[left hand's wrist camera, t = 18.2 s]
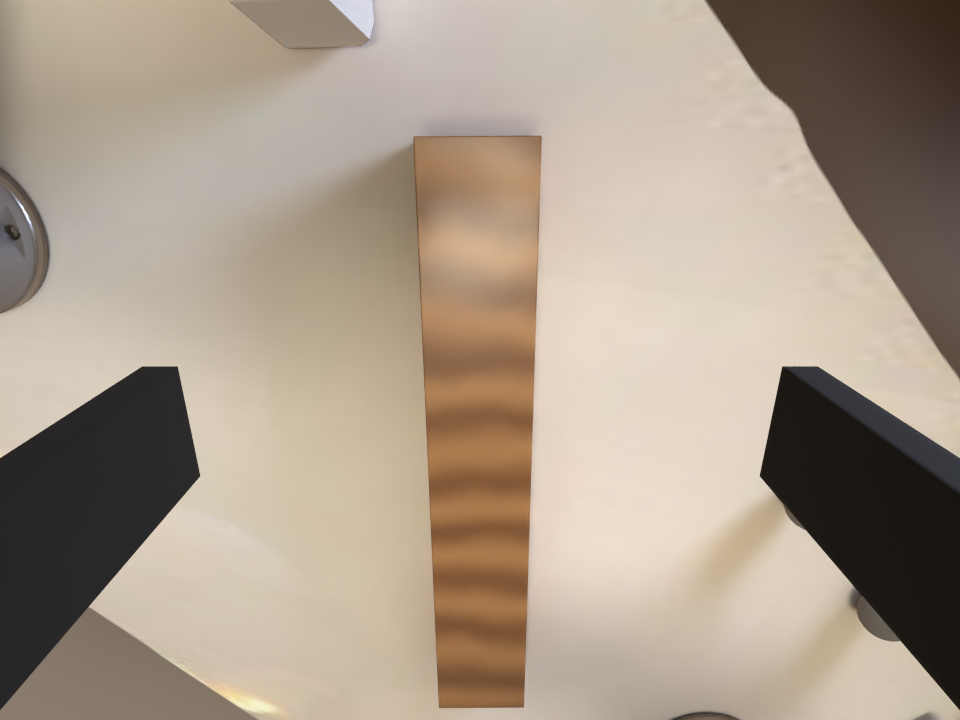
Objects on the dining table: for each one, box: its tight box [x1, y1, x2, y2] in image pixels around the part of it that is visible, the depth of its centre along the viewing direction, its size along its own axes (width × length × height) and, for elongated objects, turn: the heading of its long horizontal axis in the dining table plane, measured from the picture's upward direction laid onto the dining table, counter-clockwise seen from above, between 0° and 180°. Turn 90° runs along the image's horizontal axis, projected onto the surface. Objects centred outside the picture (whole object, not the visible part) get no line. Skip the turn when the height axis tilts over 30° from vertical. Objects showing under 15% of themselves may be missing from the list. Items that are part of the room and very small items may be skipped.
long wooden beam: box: [413, 136, 542, 708], centre depth 56 cm, size 60×10×7 cm, turn 0°
